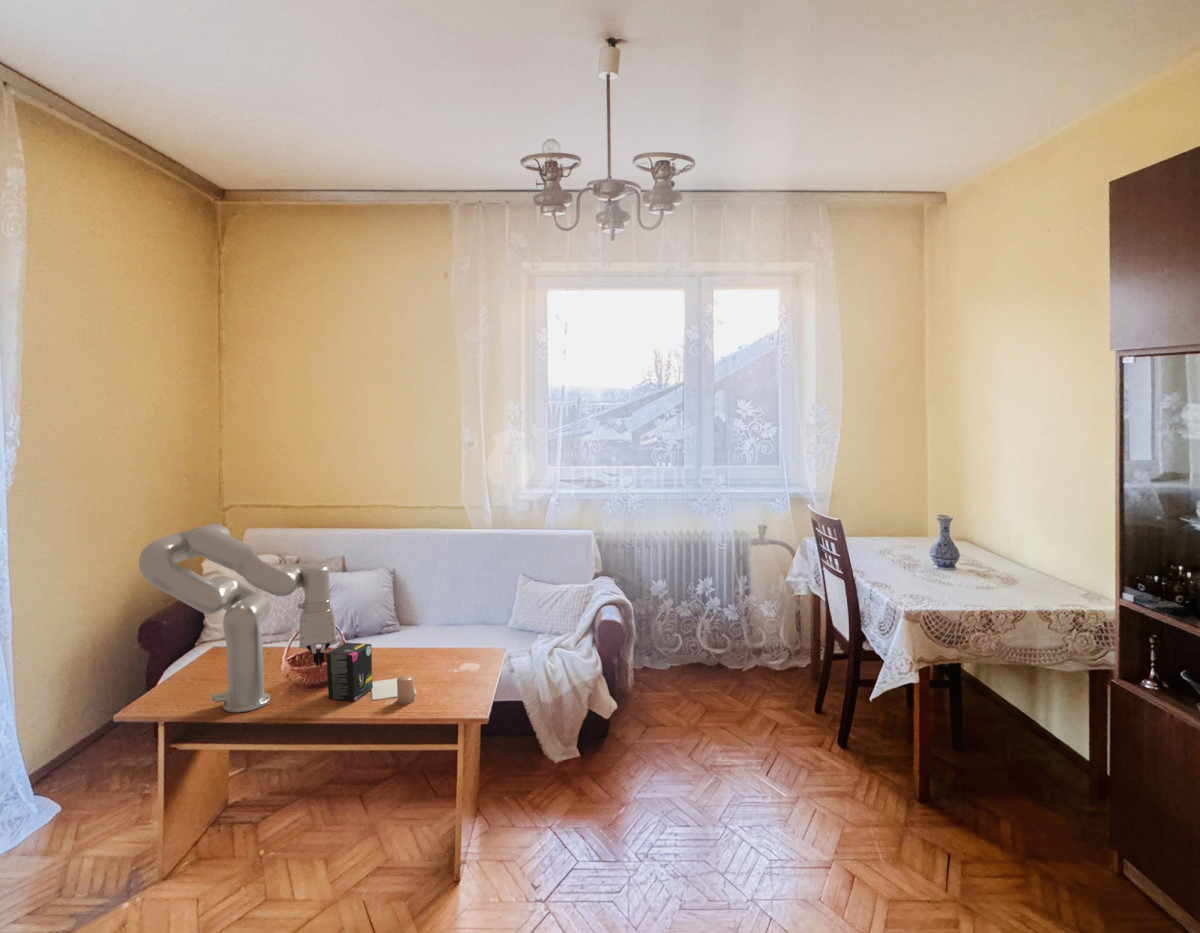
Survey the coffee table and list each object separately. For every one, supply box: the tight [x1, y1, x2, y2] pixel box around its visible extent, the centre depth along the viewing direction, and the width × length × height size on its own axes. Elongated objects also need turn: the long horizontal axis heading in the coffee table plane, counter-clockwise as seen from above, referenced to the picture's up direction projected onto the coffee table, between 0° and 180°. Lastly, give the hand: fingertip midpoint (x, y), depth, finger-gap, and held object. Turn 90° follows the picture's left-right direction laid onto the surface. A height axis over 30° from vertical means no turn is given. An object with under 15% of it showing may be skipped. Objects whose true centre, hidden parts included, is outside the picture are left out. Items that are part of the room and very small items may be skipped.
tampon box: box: [326, 642, 373, 702], centre depth 205 cm, size 11×9×15 cm
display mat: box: [370, 677, 417, 701], centre depth 210 cm, size 13×15×1 cm
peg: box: [396, 675, 415, 705], centre depth 201 cm, size 5×5×7 cm
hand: (319, 664), depth 202 cm, fingers closed
